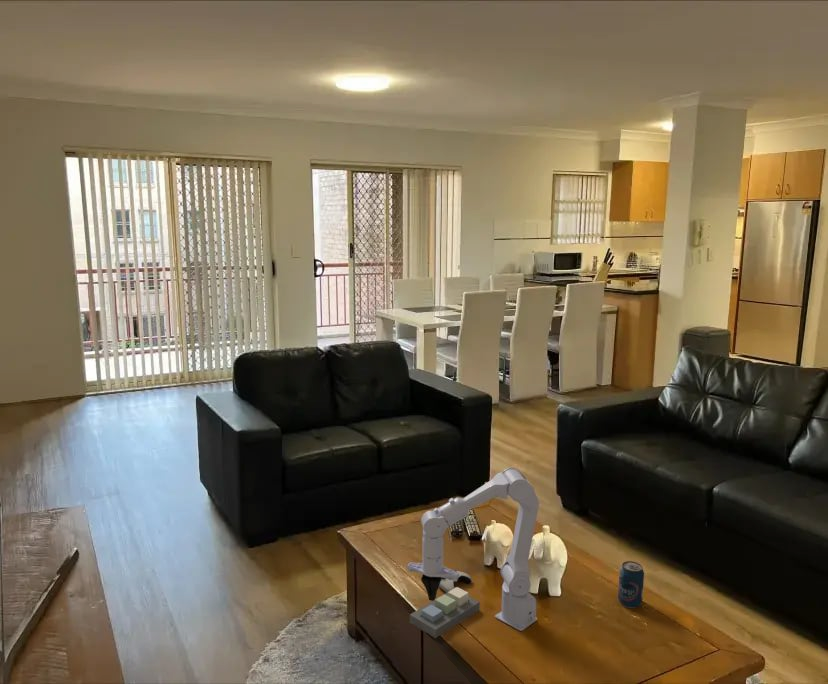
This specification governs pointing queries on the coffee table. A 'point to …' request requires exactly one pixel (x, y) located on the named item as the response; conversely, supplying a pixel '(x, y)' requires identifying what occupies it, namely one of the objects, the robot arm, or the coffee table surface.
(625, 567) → the soda can
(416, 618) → the key panel
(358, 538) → the coffee table surface
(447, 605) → the sage key
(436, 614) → the slate key
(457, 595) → the ivory key
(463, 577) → the gaming controller
